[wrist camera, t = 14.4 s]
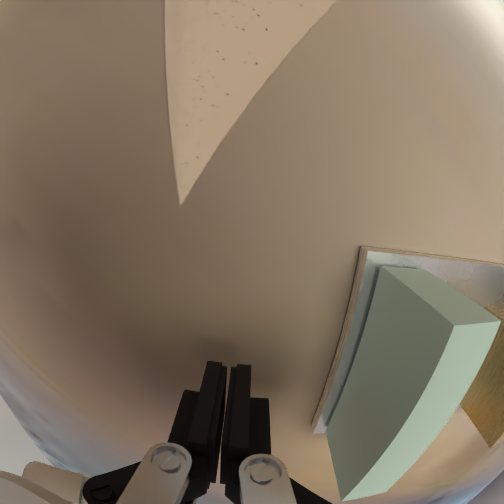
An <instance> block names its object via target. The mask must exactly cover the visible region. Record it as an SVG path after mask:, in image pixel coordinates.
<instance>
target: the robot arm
mask: <svg viewBox="0 0 504 504" xmlns="http://www.w3.org/2000/svg"><path fill="white" fill-rule="evenodd" d="M226 377H227V367H226V366H222V362H214V361H208V362H207V365H206V369H205V373H204V377H203V381H202V385H201V388H200V392H197V391H191V390H185V391H184V393H183V395H182V398H181V401H180V405H179V408H178V411H177V414H176V417H175V420H174V423H173V426H172V430H171V433H170V436H169V439H168V442H167V443H160V444H156V445H154V446H153V447H151V448H150V449H149V450H148V451H147V453H146V455H145V456H144V458H143V460H142V461H140V462H138V463H135V464H132V465H129V466H127V467H124V468H121V469H118V470H115V471H111V472H108V473H105V474H101V475H98V476H94V477H92V478H89V477H84V476H83V474H79V473H75V472H71V471H67V470H64V469H60V468H57V467H53V466H50V465H47V464H44V463H41V462H35V461H34V462H30V463H29V464H27V465H26V467H25V468H24V471H23V475H22V477H20V476H18V475H15V474H12V473H9V472H4V471H0V504H196V502H197V498H198V497H200V496H202V495H204V494H206V493H207V488H208V489H209V485H210V482H212V483H215V482H216V476H217V468H218V460H219V452H220V445H221V468H220V484H226V486H225V496H226V497H227V498H229V499H230V500H231V501H232V502H233V503H234V504H332V503H330V502H328V501H327V500H325V499H323V498H321V497H320V496H318V495H316V494H315V493H313V492H311V491H310V490H308V489H307V488H305V487H303V486H302V485H300V484H299V483H297V482H296V481H294V480H293V479H291V478H290V477H289V475H288V472H287V468H286V466H285V464H284V463H283V462H282V461H281V460H280V459H279V458H277V457H275V456H272V455H271V440H270V416H269V400H268V398H252V397H250V387H251V365H243V364H237V368H236V367H231V373H230V381H229V388H228V396H227V404H226V411H225V396H226ZM224 413H225V419H224ZM223 422H224V427H223ZM222 430H223V434H222ZM221 437H222V443H221Z"/></svg>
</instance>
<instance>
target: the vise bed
mask: <svg viewBox="0 0 504 504" xmlns="http://www.w3.org/2000/svg"><path fill="white" fill-rule="evenodd" d="M380 266H389V267H400V268H412V269H423V270H427V271H428V272H430V273H431V274H433V275H435V276H436V277H438V278H439V279H441V280H443V281H444V282H446V283H447V284H449V285H450V286H452V287H453V288H455V289H456V290H458V291H459V292H461V293H462V294H464V295H465V296H467V297H468V298H470V299H471V300H473V301H474V302H476V303H477V304H479V305H480V306H482V307H483V308H485V306H500V305H504V264H498V263H491V262H484V261H477V260H470V259H462V258H455V257H447V256H439V255H432V254H424V253H416V252H408V251H399V250H391V249H382V248H374V247H365V246H361V248H360V253H359V259H358V264H357V269H356V274H355V279H354V283H353V288H352V292H351V297H350V301H349V305H348V309H347V313H346V317H345V321H344V325H343V329H342V332H341V336H340V340H339V343H338V347H337V350H336V354H335V357H334V360H333V363H332V367H331V370H330V373H329V376H328V379H327V382H326V385H325V388H324V391H323V394H322V397H321V399H320V402H319V405H318V408H317V410H316V413H315V416H314V418H313V421H312V423H311V426H312V432H313V434H322V433H326V429H327V427H328V425H329V422H330V420H331V418H332V416H333V413H334V411H335V409H336V406H337V404H338V401H339V399H340V397H341V394H342V392H343V389H344V386H345V384H346V381H347V379H348V376H349V373H350V370H351V368H352V365H353V362H354V359H355V356H356V353H357V350H358V347H359V344H360V341H361V338H362V335H363V331H364V328H365V325H366V321H367V318H368V314H369V310H370V307H371V303H372V299H373V295H374V291H375V287H376V283H377V279H378V274H379V270H380ZM459 407H461V405H460V404H459V405H458V407H457V408H459Z"/></svg>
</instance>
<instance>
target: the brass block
mask: <svg viewBox="0 0 504 504" xmlns="http://www.w3.org/2000/svg"><path fill="white" fill-rule="evenodd" d="M484 309H486V310H487V311H489V312H490V313H491V314H493V315H494V316H495V317H497V318H498V319H500V320H501V323H500V326H499V328H498V331H497V333H496V335H495V338H494V340H493V342H492V344H491V347H490V349H489V351H488V353H487V355H486V357H485V359H484V361H483V363H482V365H481V367H480V369H479V371H478V373H477V375H476V377H475V378H474V380H473V382H472V384H471V386H470V387H469V389H468V391H467V392H466V394H465V396H464V397H463V399H462V400H461V402H460V405H461V407H462V408H463V409H464V411H465V412H466V414H467V415H468V416H469V418H470V419H471V421H472V422H473V423H474V425H475V426H476V428H477V429H478V431H479V432H480V434H481V435H482V437H483V438H484V440H485V441H486V443H487V444H488V446H489V447H490V448H492V447H494V446H495V445H497V444H498V443H500V442H502V441H503V440H504V305H500V306H485V308H484Z"/></svg>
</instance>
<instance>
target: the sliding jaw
mask: <svg viewBox="0 0 504 504" xmlns="http://www.w3.org/2000/svg"><path fill="white" fill-rule="evenodd" d="M500 323H501V320H500V319H498V318H497V317H495V316H494V315H493V314H491V313H490V312H489V311H487V310H486V309H484V308H483V307H482V306H480V305H479V304H477V303H476V302H474V301H473V300H471V299H470V298H468V297H467V296H465V295H464V294H462V293H461V292H459V291H458V290H456V289H455V288H453V287H452V286H450V285H449V284H447V283H446V282H444V281H443V280H441V279H439V278H438V277H436V276H435V275H433V274H431V273H430V272H428V271H427V270H423V269H412V268H400V267H389V266H380V270H379V274H378V279H377V283H376V287H375V291H374V295H373V299H372V303H371V307H370V310H369V314H368V318H367V321H366V325H365V328H364V331H363V335H362V338H361V341H360V344H359V347H358V350H357V353H356V356H355V359H354V362H353V365H352V368H351V370H350V373H349V376H348V379H347V381H346V384H345V386H344V389H343V392H342V394H341V397H340V399H339V401H338V404H337V406H336V409H335V411H334V413H333V416H332V418H331V420H330V422H329V425H328V427H327V429H326V435H327V440H328V444H329V448H330V453H331V457H332V461H333V466H334V470H335V475H336V479H337V484H338V489H339V493H340V498H341V501H347V500H353V499H358V498H363V497H367V496H372V495H376V494H380V493H384V492H386V491H387V490H388V489H389V488H390V487H391V486H392V485H393V484H394V483H395V482H396V481H397V480H398V479H399V478H400V477H401V476H402V475H403V474H404V473H405V472H406V471H407V470H408V469H409V468H410V467H411V466H412V465H413V464H414V463H415V461H416V460H417V459H418V458H419V457H420V456H421V455H422V453H423V452H424V451H425V450H426V449H427V448H428V446H429V445H430V444H431V443H432V441H433V440H434V439H435V438H436V436H437V435H438V434H439V432H440V431H441V430H442V428H443V427H444V426H445V424H446V423H447V421H448V420H449V419H450V417H451V416H452V414H453V413H454V411H455V410H456V408H457V407H458V405H459V404H460V402H461V400H462V399H463V397H464V396H465V394H466V392H467V391H468V389H469V387H470V386H471V384H472V382H473V380H474V378H475V377H476V375H477V373H478V371H479V369H480V367H481V365H482V363H483V361H484V359H485V357H486V355H487V353H488V351H489V349H490V347H491V344H492V342H493V340H494V338H495V335H496V333H497V331H498V328H499V326H500Z"/></svg>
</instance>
